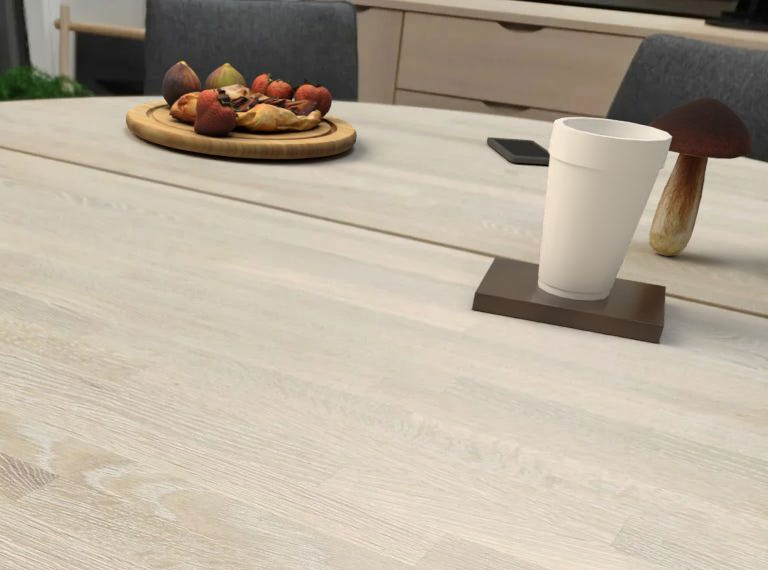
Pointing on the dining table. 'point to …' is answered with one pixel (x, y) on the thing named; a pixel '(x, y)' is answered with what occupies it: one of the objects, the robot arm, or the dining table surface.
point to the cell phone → (520, 150)
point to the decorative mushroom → (693, 165)
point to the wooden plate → (241, 117)
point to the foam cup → (595, 201)
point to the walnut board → (572, 303)
